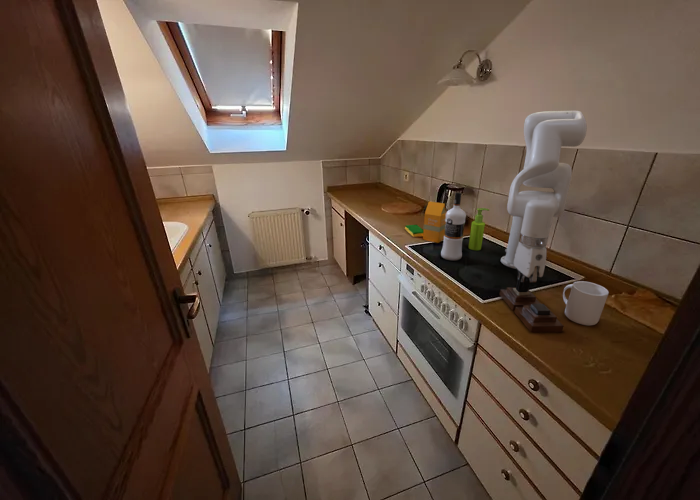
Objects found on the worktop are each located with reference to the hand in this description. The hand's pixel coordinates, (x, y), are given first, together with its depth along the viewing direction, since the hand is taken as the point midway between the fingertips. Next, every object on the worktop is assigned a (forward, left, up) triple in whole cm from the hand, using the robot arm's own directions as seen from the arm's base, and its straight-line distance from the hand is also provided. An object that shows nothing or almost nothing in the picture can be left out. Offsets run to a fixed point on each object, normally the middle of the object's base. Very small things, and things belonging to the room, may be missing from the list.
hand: (521, 290), depth 100 cm
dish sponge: (-73, -22, -5) cm, 76 cm away
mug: (+7, +14, -5) cm, 17 cm away
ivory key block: (0, 0, -5) cm, 5 cm away
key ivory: (0, 0, -2) cm, 2 cm away
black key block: (+11, 0, -5) cm, 12 cm away
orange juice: (-62, -14, -5) cm, 63 cm away
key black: (+11, 0, -1) cm, 11 cm away
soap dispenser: (-48, +3, -5) cm, 49 cm away
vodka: (-38, -12, -5) cm, 40 cm away
